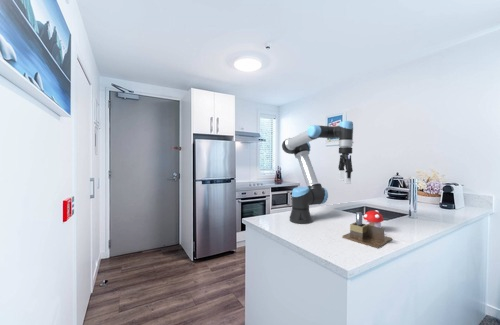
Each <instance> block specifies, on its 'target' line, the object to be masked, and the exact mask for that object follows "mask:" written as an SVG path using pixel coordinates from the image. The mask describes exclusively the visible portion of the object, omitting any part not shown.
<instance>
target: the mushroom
mask: <svg viewBox="0 0 500 325" xmlns="http://www.w3.org/2000/svg"><path fill="white" fill-rule="evenodd" d="M362 219H363V220H365V221H366V223H365V224H369V223H371V222H375V227H380V228H382V227H381V226H382V223H383V222H384V221H385V220H384V217H383V214H381V213H380V211H379V210H376V209H375V210H368V211H367V212H365V214H363V216H362Z"/></svg>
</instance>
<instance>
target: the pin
mask: <svg viewBox="0 0 500 325" xmlns="http://www.w3.org/2000/svg"><path fill="white" fill-rule="evenodd" d="M355 222H356V225H357V226H361V227H362V224H363V213H362V212H361V211H357V212H355Z"/></svg>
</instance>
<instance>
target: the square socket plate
mask: <svg viewBox="0 0 500 325" xmlns="http://www.w3.org/2000/svg"><path fill="white" fill-rule="evenodd" d="M341 238H342V239H346V240H348V241H352V242H355V243H358V244H362V245H366V246H369V247H373V248H375V249H379V248H381V247H383V246H384V245H386V244H388V243H389V242H391V241H393V237H390V236H387V235H385V228H383V227H381V228H380V227H375V222H371V223H369V224H366V223H362V227H361V226H357V225H356V221H355V222H353V223H351V224H349V232H348V233H345V234H344V235H342V237H341Z"/></svg>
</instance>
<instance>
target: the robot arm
mask: <svg viewBox="0 0 500 325" xmlns="http://www.w3.org/2000/svg"><path fill="white" fill-rule="evenodd" d="M353 134H354V123H353V121H352V120H344V121H343V120H342V121H340V122H339V125H332V126H331V125H320V124H319V125H318V124H317V125H316V124H313V125H310V126H309V127H308V128H307V130H305V131H303V132H301V133H299V134H297V135H294V136H292V137H288V138H285V140H283V141H282V144H281V147H282V151H283V152H284V153H286V154H289V155H294V157H295V159H297V161H298V163H299V166H300V170H301V173H302V176H303V178H304V181H305V185H306V186H297V187H294V188H293V189H292V191H291V212H290V215H289V221H290V222H291V223H293V224H298V225H299V224H300V225H305V224H310V223H312V222H313V221H312V220H313V218H312V215H311V212H310V206H313V205H314V206H315V205H322V204H325V203H327V201H328V198H329V192H328V189H326V188H325V187H323V185H322V184H321V183H320V182H319V181H318V178H317V175H316V173H315V170H314V166H313V165H312V161H311V159H310V156H309V155H310V151H311V144H310V142H312V141H314V140H317V139H319V138H320V139H321V138H322V139H331V140H332V139H337V138H338V154H339V162H338V171H339V174H338V181H339V182H341V181H345V184H346V185H351V184H352V172H353V171H354V170H353V163H352V154H353V144H354V141H353V140H354V139H353V137H354V135H353Z"/></svg>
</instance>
